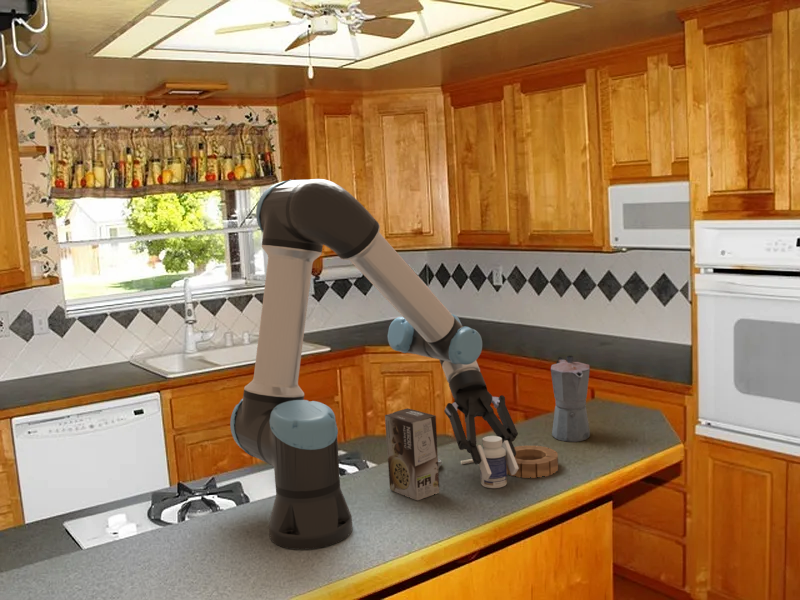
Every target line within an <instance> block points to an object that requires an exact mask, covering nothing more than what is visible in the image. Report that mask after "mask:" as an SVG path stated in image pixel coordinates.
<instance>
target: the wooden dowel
mask: <svg viewBox="0 0 800 600" xmlns="http://www.w3.org/2000/svg"><path fill="white" fill-rule="evenodd" d="M472 463H473V464H474V462H473V459H472V458H470V459H464V460H460V464H461V465H467V464H472Z"/></svg>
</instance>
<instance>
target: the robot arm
mask: <svg viewBox="0 0 800 600" xmlns="http://www.w3.org/2000/svg"><path fill="white" fill-rule="evenodd" d="M255 217H256V223H257V225H258V226H257V227H259V229H260V231H261V232H262V242H261V248H262V249H263V250H264V252H265V254H266V255H267V257H268V259H267V264H266V265H267V267H266V273H265V280H264V281H265V282H264V290H263V299H262V308H261V314H260V315H261V316H260V323H259V331H258V338H257V348H256V356H255V365H254V373H253V378H252V380H251V381H250V382H249V383H248V384H246V385H245V386H244V389H243V395H242V398H241V399H240V401H239V402H238V404H235V406H234V408H233V409H232V413H231V416H230V422H229V424H230V428H229V429H230V432H231V436H232V438H233V440H234V442H235V443H236V445H237V446H239V448H240V449H242V450H243V451H244V452H245V453H246V454H247V455H249V456H251V457H252V458H256V459H258V460H260V461H262V462H264V463H266V464H268V465H270V466H272V467H273V470H274V483H275V498H274V502H273V506H272V510H271V515H270V518H269V521H268V532H269V539H270V541H271V542H272V543H274V545H277V546H279V547H282V548H285V549H290V548H291V550H312V549H313V550H315V549H318V548H319V549H320V548H325V547H329V546H331V545H334V544H337V543H339V542H342V541H343V540H345V539H346V538H348V537H349V536H350V535H351V533H352V531H353V518H352V513H351V511H350V509H349V506H348V503H347V502H346V501H347V500H346V499H345V496H344V494H343V492H342V489H341V481H340V479H341V478H340V477H341V476H340V463H339V460H340V459H339V447H338V446H339V444H338V442H339V441H338V434H339V431H338V425H337V420H336V415H335V412H334V411H333V409H332V408H331V407H330V406H328V405H327V404H326V403H325V404H324V403H323V402H320V401H316V400H312V401H309V400H308V399H305V392H304V391H303V390H302V388H301V387H300V385H299V378H300V368H301V361H302V360H301V359H302V353H303V344H304V336H305V327H306V320H307V312H308V303H309V296H310V295H309V294H310V287H311V280H312V273H313V272H312V271H313V263H314V261H315V260H317V259H318V258H319V257H320V256H322V253H323V246H325V247H327V248H328V249H330V250H331V251H333V252H334V253H335V254H336V256H338V258H340V259H341V260H343V261H350V262H351V263H352V264H353V265H354V266H355V268H356V269H357V270H359V272H360V273H361V274H362V275H363V276H364V277H365V278H366V279H367V280H368V281H369V283H371V284H372V286H373V287H375V289H377V290H378V292H379V293H380V295H382V296H383V297H384V298H385V300H387V301H388V302H389V303H390V305H391V306H392V307H393V308H394V309H395V310H396V311H397V312H398V313H399V314H400V315H401V316H398V317H396V318H394V320H392V321H391V323H390V325H389V327H388V330H387V331H388V332H387V342H388V345H389V347H390V348H391V349H392V350H394V351H396V352H401V353H402V354H413V355H418V356H422V357H426V358H429V359H430V358H431V359H437V360H439V363H440V365H441V367H442V370H443V372H444V376H445V378H446V381H447V383H448V386H449V389H450V392H451V395H452V397H453V399H454V401H453V403H451V402H448V403H447V405H446V406H445V408H444V414H445V415H446V417H448V419H449V422H450V424H451V428H452V431H453V435H454V437H455V439H456V443H457V446H458V448H459V450H461V451H464V450H466V452H467V453H468V454H470V456H471V459H473V464H475V465H478V467H479V469H480V470H481V472H482V475H483V478H484V480H488V479H489V477H490V475H491V474H492V473H491V470H490V468H489V465H488V463H487V460H486V457H485V455H484V452H483V449H482V448H483V446H482V444H477V432H476V422H475V421H476V419H475V418H476V417H481V418H482V419H483V420H484V421H486V422H487V424H488V425H489V427H490V428H491V429H492V431H493V432H494V434H495V436H499V437H501V438H502V446H501V447H503V448H504V449H505V450H506V463H507V465H508V468H509V470H510V473H511V475H515V473H516V472H517V471H518V469H519V468H518V465H517V463H516V460H515V458H514V457H515V455H516V451H515V448H514V447H515V446H514V443H513V442H514V441H515V440H516V438H517V437H518V434H519V432H518V430H517V427H516V426H515V423H514V421H513V419H512V417H511V415H510V413H509V410H508V407H507V405H506V397H505V396H504V395H503V394H502V395H499V397H498V396H493V395H492V394H491V392H489V391H488V387H487V383H486V381H485V379H484V377H483V374H482V372H481V368H480V367H479V364H478V361H477V360H478V358H479V357H480V355H481V354H482V350H483V340H482V336H481V334H480V332H478V331H477V330H476V329H474V328H471V327H469V326H463V324H462V323H461V320H460V318H459V316H457V315H456V314H453V313H451V312H450V311H449V309H448V308H447V307H446V306H444V304H443V303H442V302H441V300H439V299H438V296H436V295H435V294H434V293H433V292H432V289H430V288H429V287H428V286H427V285H426V283H425V282H424V281H423V280H422V279H421V278H420V277H419V275H418V274H417V273H416V272H415V271H414V270H413V269H412V267H411V266H410V265H409V264H408V263H407V262H406V261H405V260H404V258H403V257H402V256H401V255H400V254H399V253H398V252H397V251H396V249H394V247H393V246H392V245H391V244H390V243H389V242H388V240H387V239H386V238H385V237H384V236H383V235H382V233H380V231H381V230H380V229H381V225H380V223H379V222H378V221H377V220H376V218H375V217H374V216H373V215H372V214H371V213H370V212H369V210H368V209H367V208H366V207H364V205H363V204H361V202H359V200H358V199H356V197H355V196H353V194H351V193H350V192H349V191H347V189H345V188H344V187H343V186H341V185H339V184H337V183H336V182H333V181H331V180H328V179H323V178H313V179H289V180H283V181H281V182H278V183H273V184H272V185H271V186H270V187H268V188H266V190H265V191H264V192H263V193H262V194H261V196H260V198H259V200H258V202H257V204H256V209H255ZM491 404H493V407H492V406H491ZM494 409H496V413H497V415H498V416H497V415H496V414H495V411H494ZM458 411H460V412H461V413H462V414H463V415H464V423H465V431H466V433H465V431H464V428H463V424H462V421H461V418H460V415H459V413H458ZM498 417H499V418H498ZM480 470H479V471H480ZM511 475H510V476H511Z"/></svg>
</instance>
